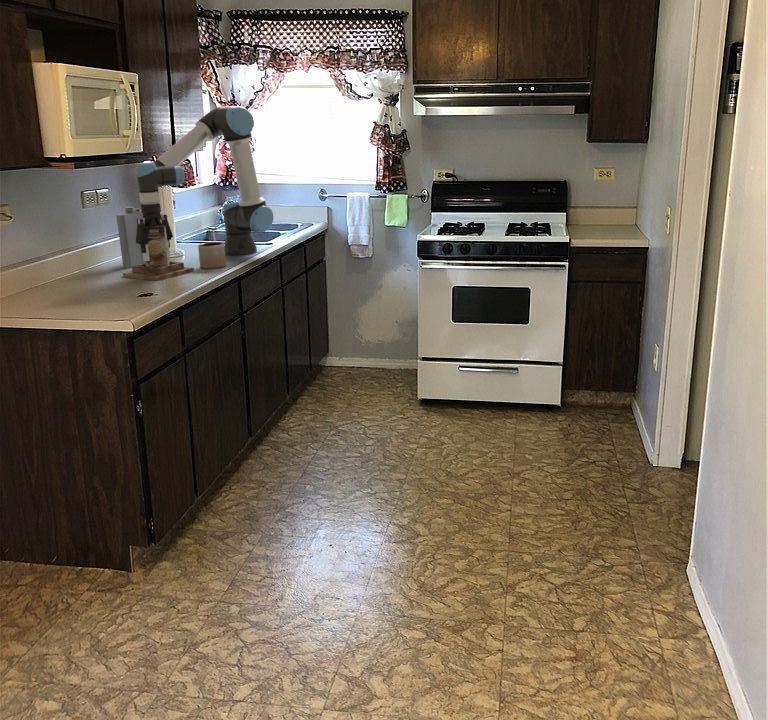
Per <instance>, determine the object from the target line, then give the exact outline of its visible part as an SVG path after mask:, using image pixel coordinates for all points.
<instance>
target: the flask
mask: <svg viewBox="0 0 768 720" xmlns="http://www.w3.org/2000/svg"><path fill="white" fill-rule="evenodd" d="M124 210H125V212H122V213H118V214H116V215H115V216H116V223H117V231H118V238H119V246H120V252H121V253H120V254H121V260H122V267H123V269H132V266H134V265H139V264H143V263H146V262H145V261H144V259H143V253H142V252H141V245H140V244H136V234H137V219H141V218H143V214H142V212H141V207H140V208H135V206H125V207H124Z"/></svg>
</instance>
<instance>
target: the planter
mask: <svg viewBox="0 0 768 720" xmlns="http://www.w3.org/2000/svg"><path fill="white" fill-rule="evenodd" d="M224 245H225V242H222V241H221V242H220V241H213V242H212V241H211V242H210V241H209V242H203V243H200V244H198V245H197V249H198V257H199V258H198V259H199V267H200V268H202V269H205V270H214V269H213V268H215V269H220V267H221V268H224V267H225V266H227V258H226V254H225V249H224Z"/></svg>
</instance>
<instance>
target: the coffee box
mask: <svg viewBox="0 0 768 720" xmlns="http://www.w3.org/2000/svg"><path fill="white" fill-rule="evenodd" d="M146 229H147V228H145V227H144V230H143V233H144V231H145V230H146ZM149 230H150V232H149V235H148V239H147V242H146V244H147V245H148V250H149V258H150V261H145V262H146V267H163V266H168V265H169V264H170V262H169V261H170V256H169V253H168V244H167V235H166V226H165V225H162V226H154V227H151V229H149Z"/></svg>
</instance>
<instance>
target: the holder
mask: <svg viewBox="0 0 768 720" xmlns="http://www.w3.org/2000/svg"><path fill="white" fill-rule="evenodd" d="M169 262H170V264H169V265H168V266H163V267H146V263H143V264H139V265H134V266H132V268H131V270H130V271H127V272H126V271H125V272H122V277H123V278H129V279H140V280H146V281H147V280H149V281H155V282H158V281H162V280H165V279H169V278H170V279H171V278H174V277H178V276H181V275H185V274H189V273H193V272H195V268H194V267H191V266H190V267H189V266H185V263H184V262H180V261H170V260H169Z"/></svg>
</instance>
